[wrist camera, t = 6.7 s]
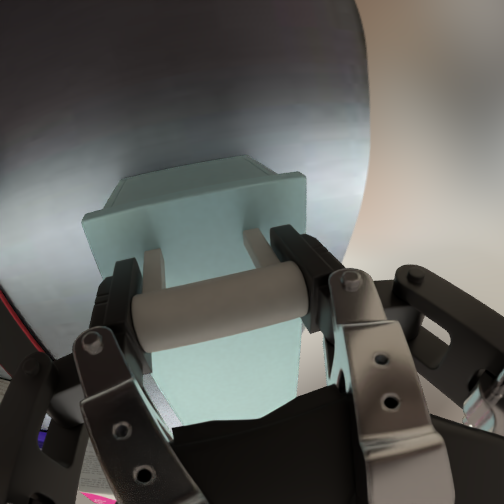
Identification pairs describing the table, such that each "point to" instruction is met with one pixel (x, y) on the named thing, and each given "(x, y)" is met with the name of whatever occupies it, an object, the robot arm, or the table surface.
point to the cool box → (186, 178)
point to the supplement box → (94, 479)
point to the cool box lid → (213, 292)
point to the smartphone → (13, 338)
